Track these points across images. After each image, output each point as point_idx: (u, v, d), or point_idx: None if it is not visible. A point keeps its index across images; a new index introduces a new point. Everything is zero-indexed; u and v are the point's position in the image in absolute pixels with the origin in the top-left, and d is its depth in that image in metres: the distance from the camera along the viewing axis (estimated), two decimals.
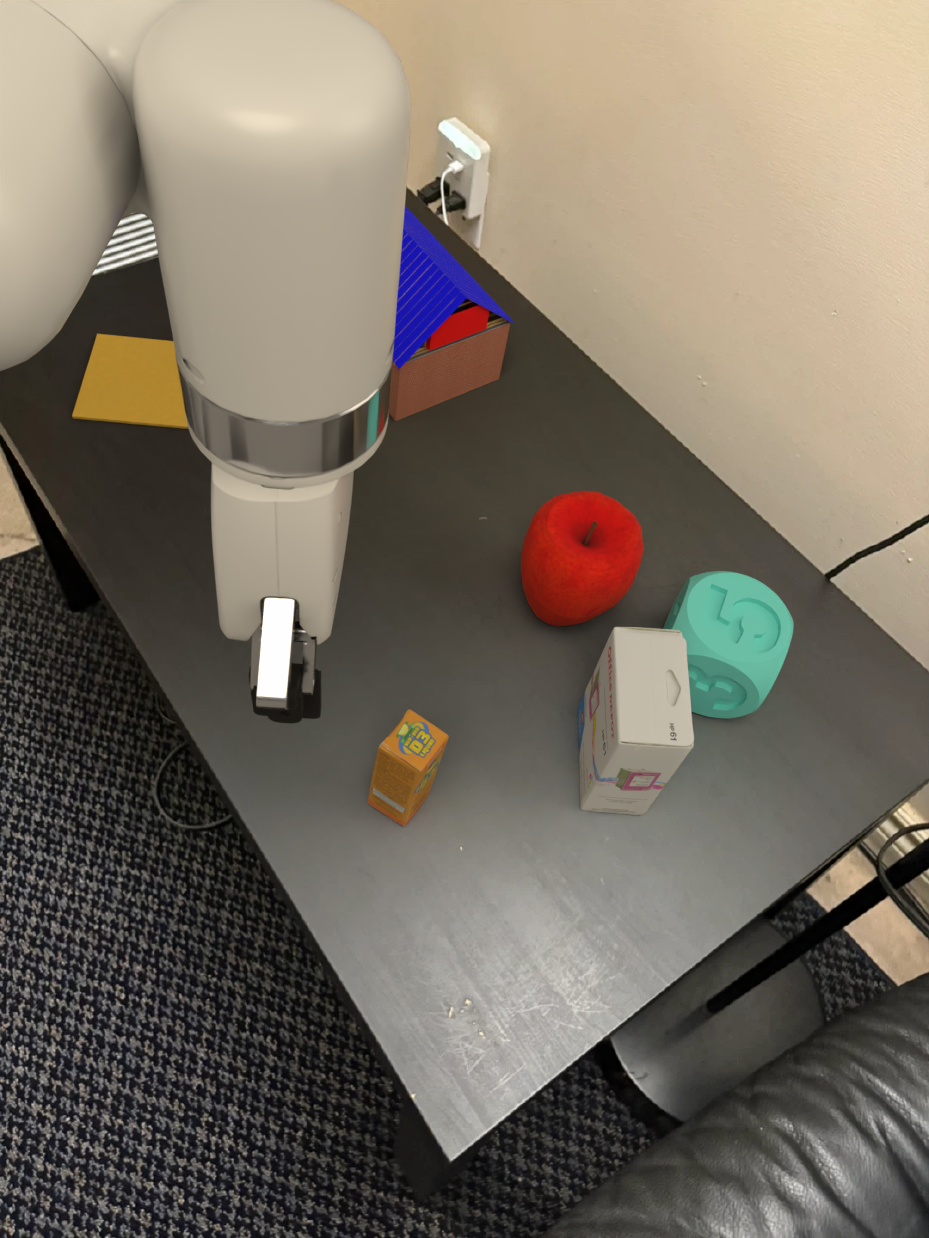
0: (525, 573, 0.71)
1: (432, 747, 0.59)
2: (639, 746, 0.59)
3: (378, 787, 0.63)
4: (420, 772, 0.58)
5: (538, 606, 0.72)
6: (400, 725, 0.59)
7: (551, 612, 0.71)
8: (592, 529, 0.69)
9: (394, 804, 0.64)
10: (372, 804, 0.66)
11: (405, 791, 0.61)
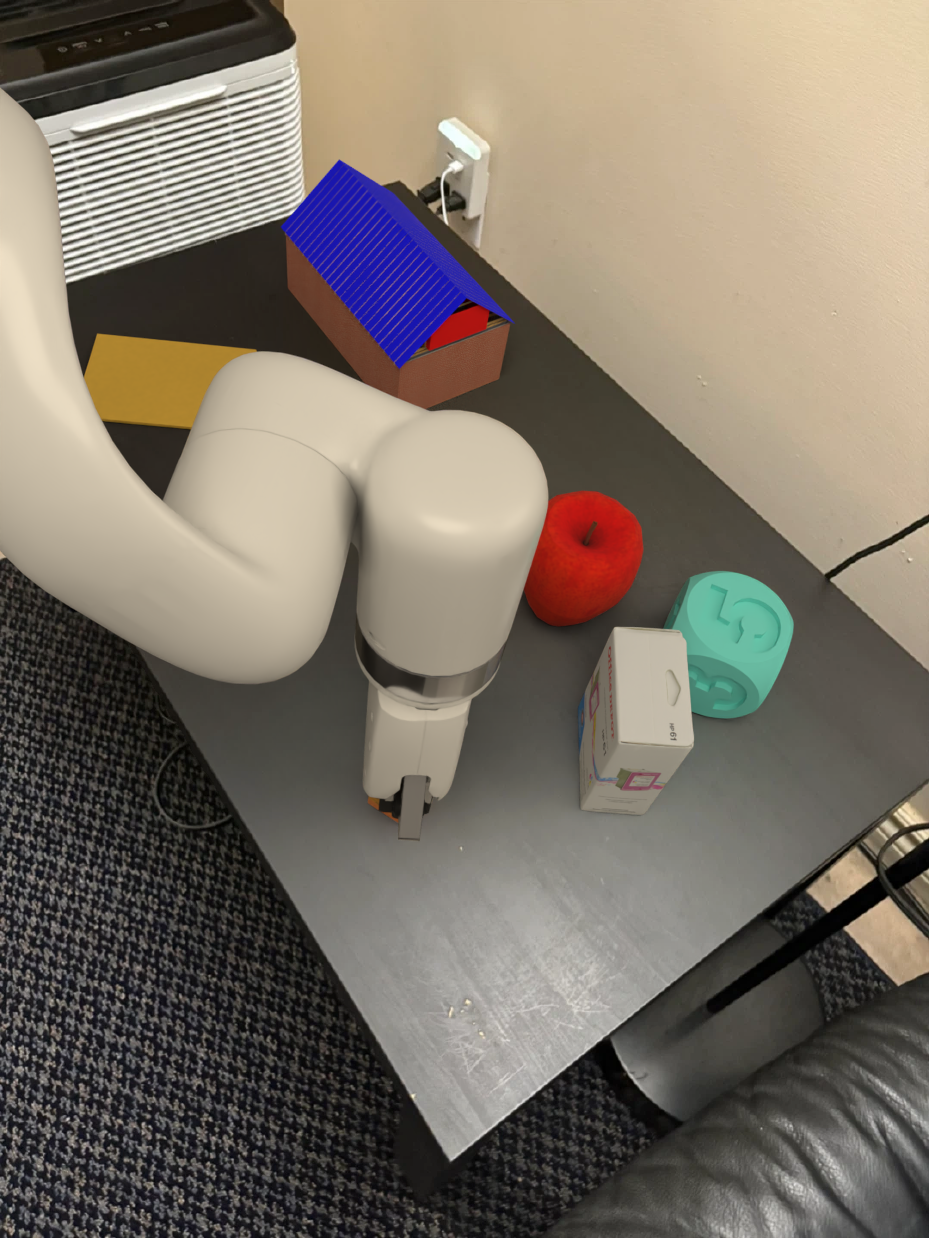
0: None
1: None
2: (639, 746, 0.59)
3: None
4: None
5: (538, 606, 0.72)
6: None
7: (551, 612, 0.71)
8: (592, 529, 0.69)
9: None
10: (372, 804, 0.66)
11: None
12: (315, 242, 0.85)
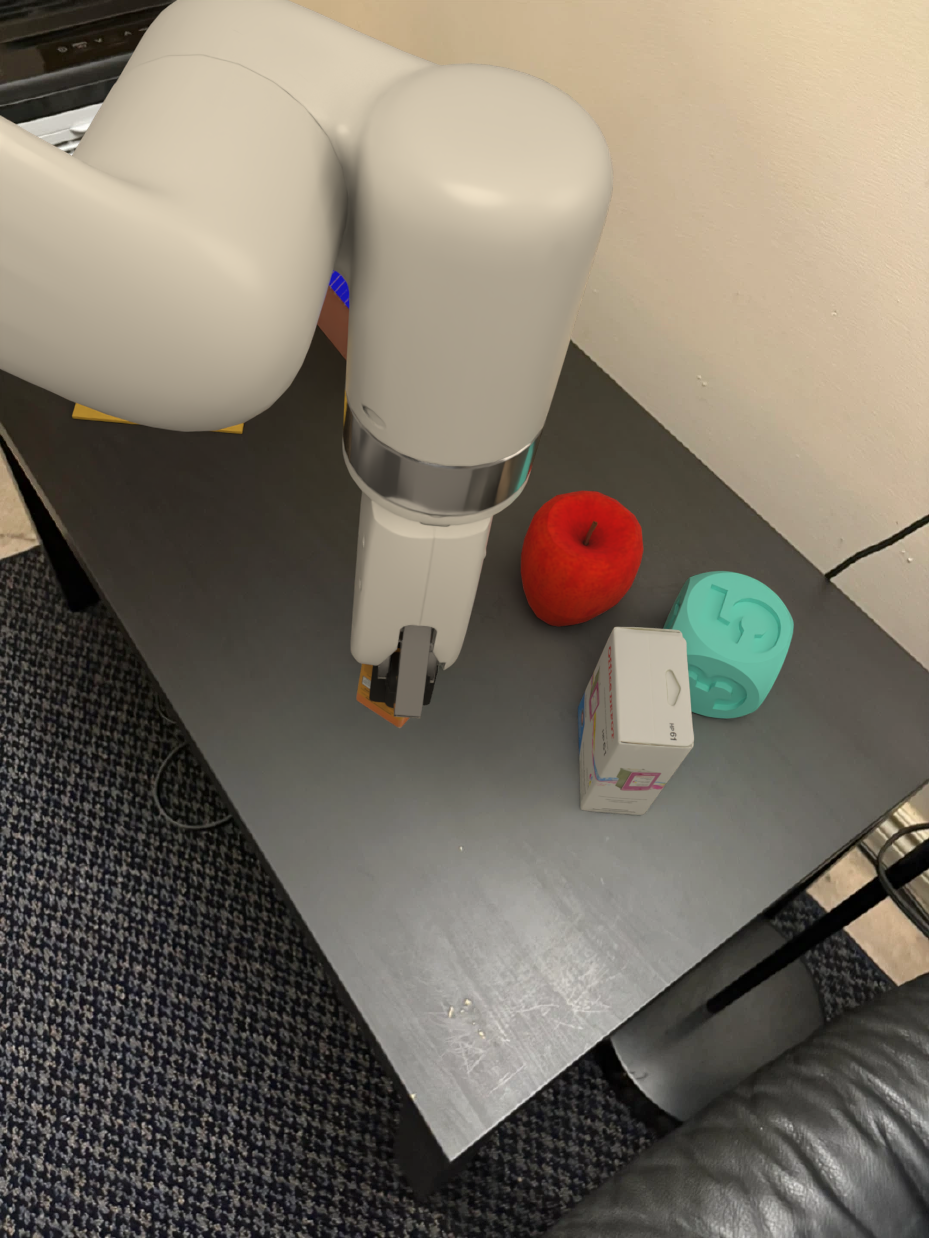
0: (525, 573, 0.71)
1: None
2: (639, 746, 0.59)
3: (370, 675, 0.52)
4: None
5: (538, 606, 0.72)
6: None
7: (551, 612, 0.71)
8: (592, 529, 0.69)
9: None
10: (362, 701, 0.55)
11: None
12: None
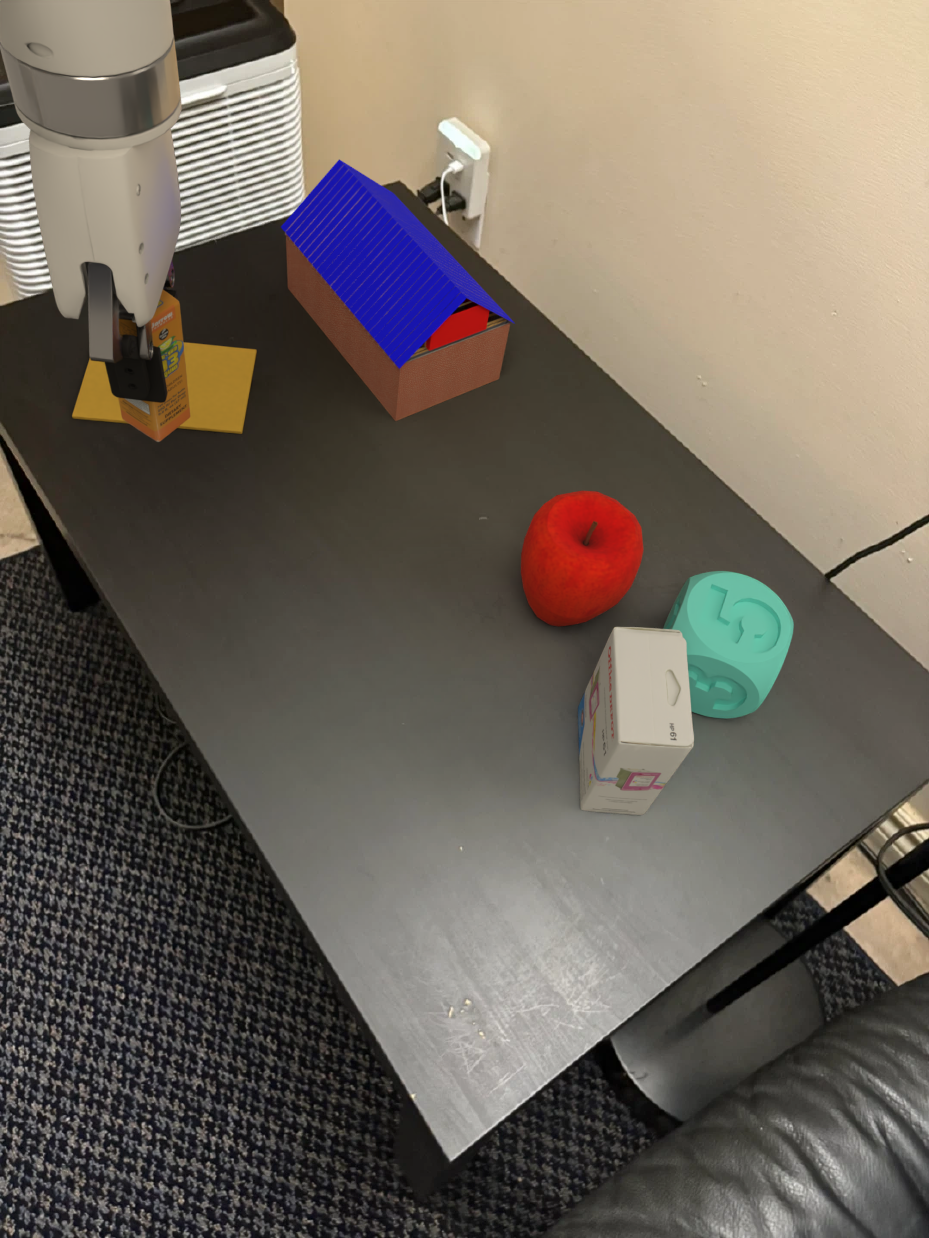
0: (525, 573, 0.71)
1: (158, 308, 0.56)
2: (639, 746, 0.59)
3: None
4: None
5: (538, 606, 0.72)
6: None
7: (551, 612, 0.71)
8: (592, 529, 0.69)
9: (139, 404, 0.61)
10: (125, 418, 0.63)
11: None
12: (315, 242, 0.85)
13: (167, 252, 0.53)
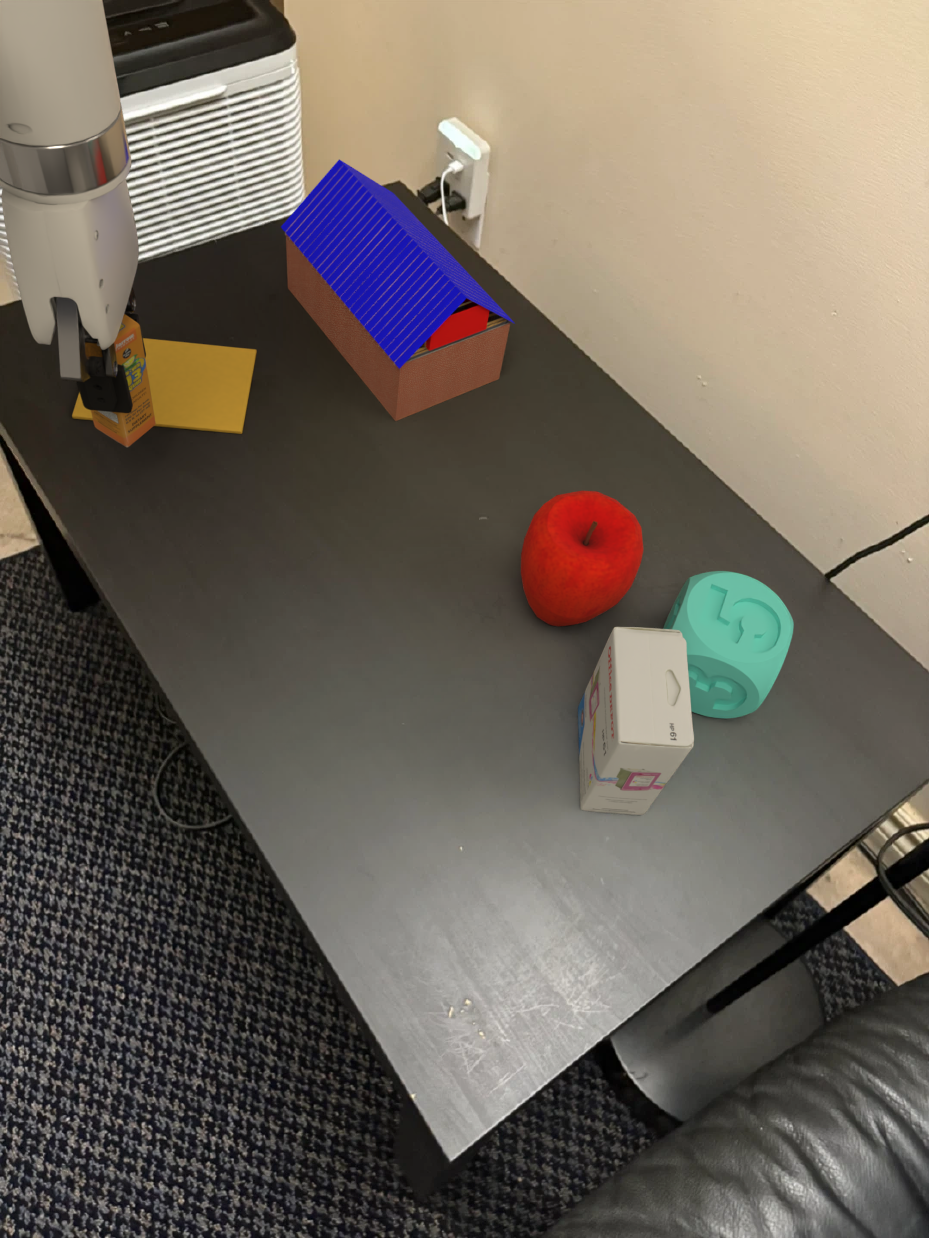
0: (525, 573, 0.71)
1: (121, 330, 0.64)
2: (639, 746, 0.59)
3: None
4: None
5: (538, 606, 0.72)
6: None
7: (551, 612, 0.71)
8: (592, 529, 0.69)
9: (108, 414, 0.69)
10: (97, 426, 0.71)
11: None
12: (315, 242, 0.85)
13: (126, 284, 0.61)
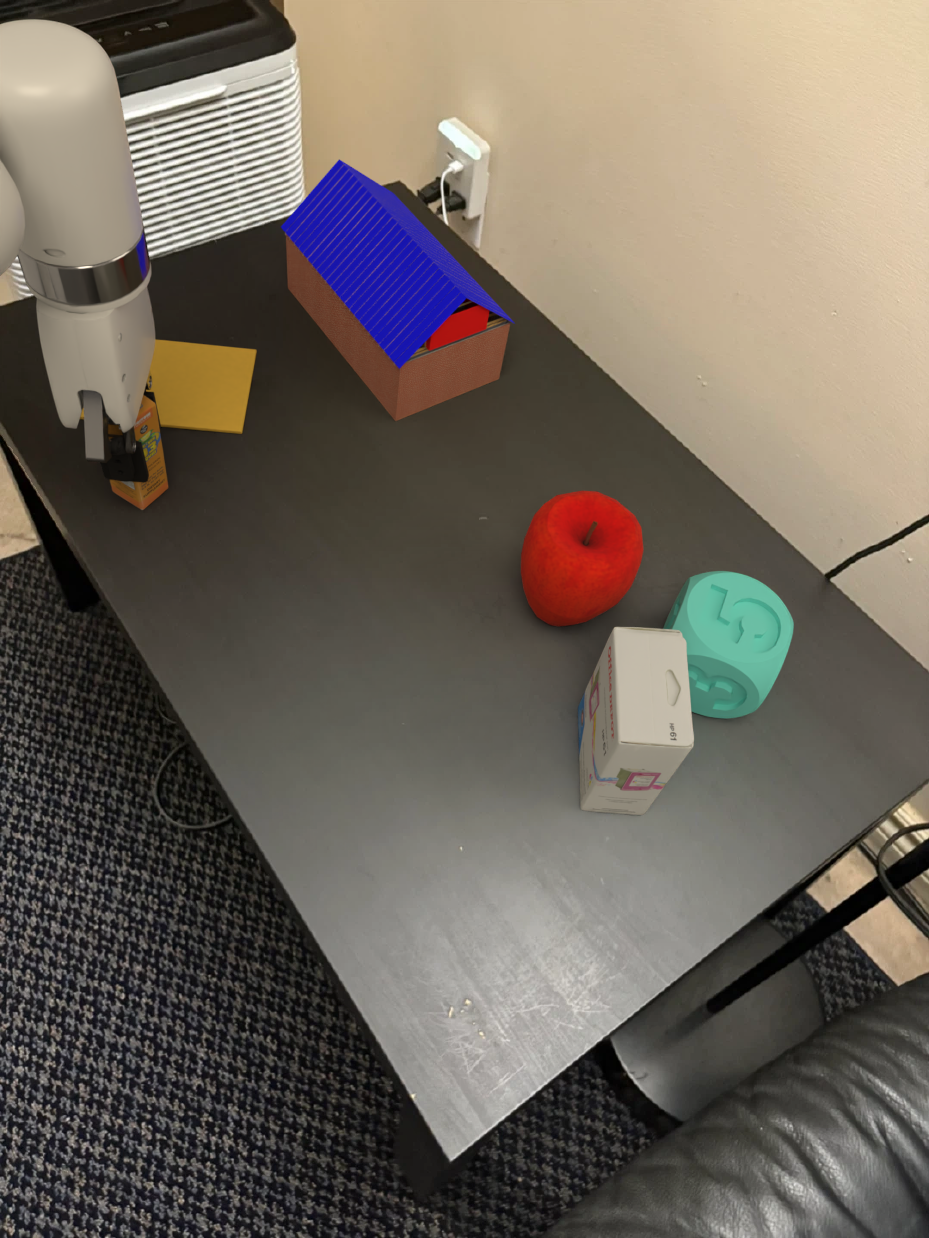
0: (525, 573, 0.71)
1: (139, 410, 0.70)
2: (639, 746, 0.59)
3: None
4: None
5: (538, 606, 0.72)
6: None
7: (551, 612, 0.71)
8: (592, 529, 0.69)
9: None
10: (115, 491, 0.77)
11: None
12: (315, 242, 0.85)
13: (144, 371, 0.67)
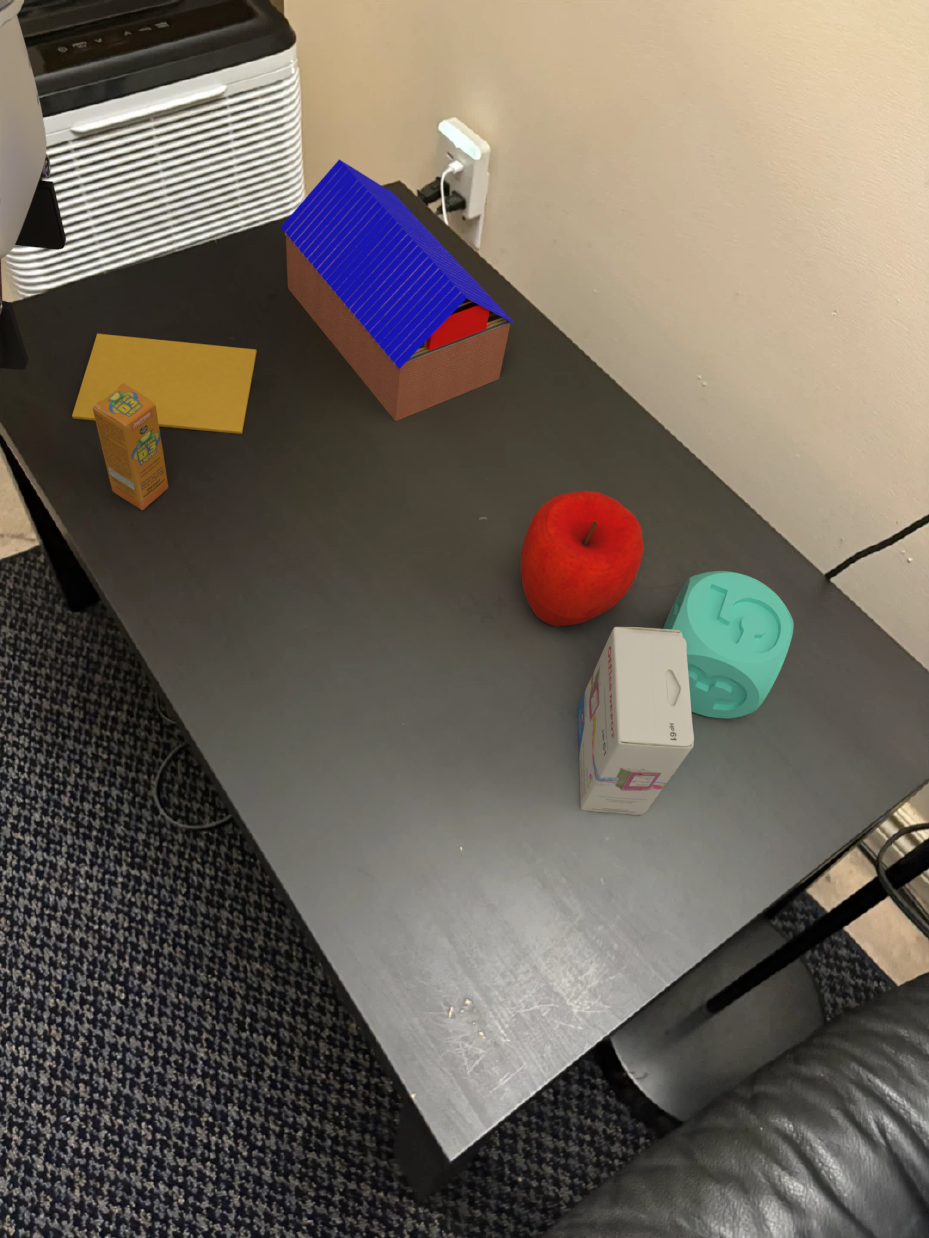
0: (525, 573, 0.71)
1: (138, 410, 0.70)
2: (639, 746, 0.59)
3: (110, 465, 0.74)
4: (126, 428, 0.69)
5: (538, 606, 0.72)
6: (113, 393, 0.70)
7: (551, 612, 0.71)
8: (592, 529, 0.69)
9: (126, 481, 0.75)
10: (115, 491, 0.77)
11: (126, 458, 0.72)
12: (315, 242, 0.85)
13: (26, 177, 0.46)
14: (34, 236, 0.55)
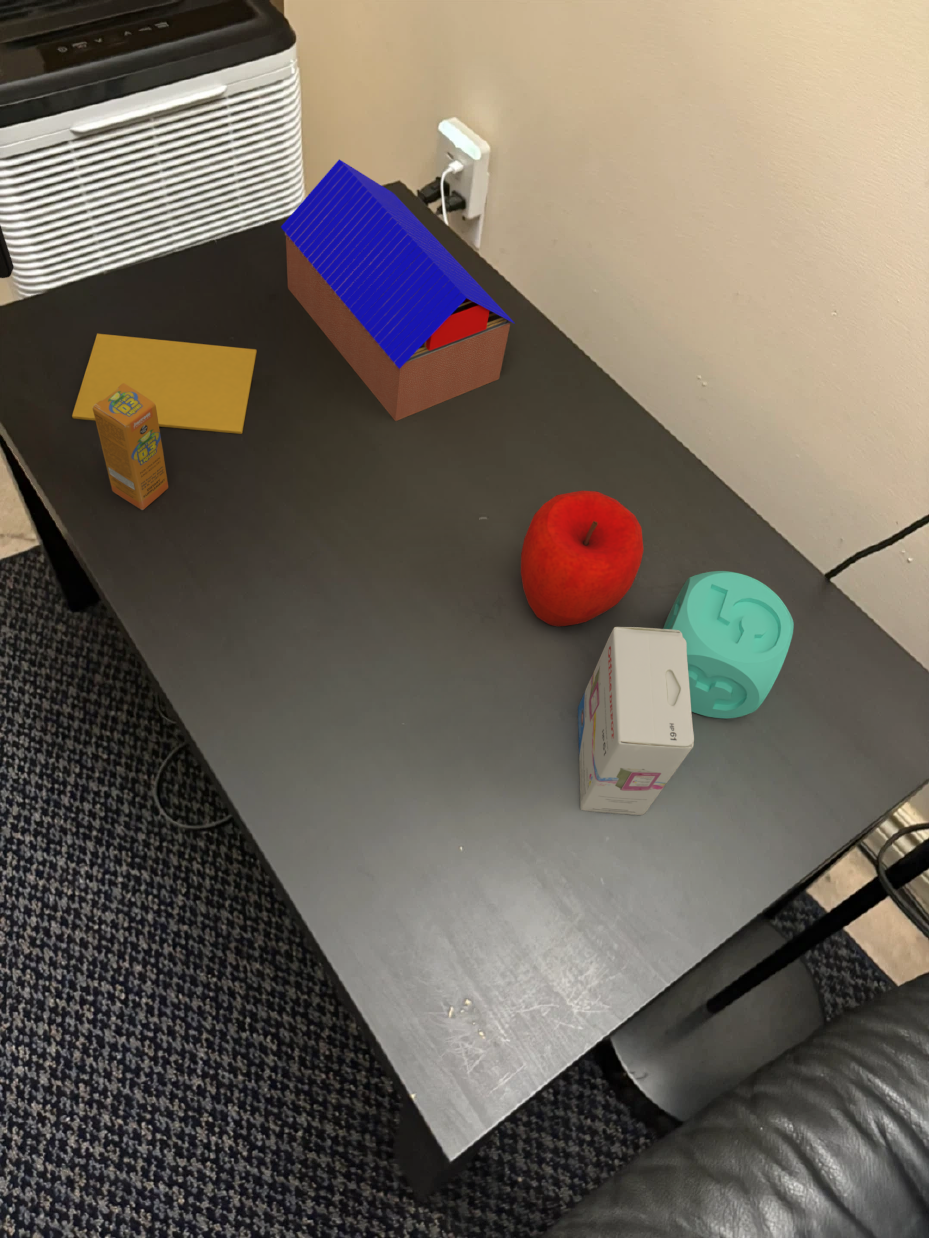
0: (525, 573, 0.71)
1: (139, 410, 0.70)
2: (639, 746, 0.59)
3: (110, 465, 0.74)
4: (126, 428, 0.69)
5: (538, 606, 0.72)
6: (113, 393, 0.70)
7: (551, 612, 0.71)
8: (592, 529, 0.69)
9: (126, 481, 0.75)
10: (115, 491, 0.77)
11: (126, 458, 0.72)
12: (315, 242, 0.85)
13: None
14: None
